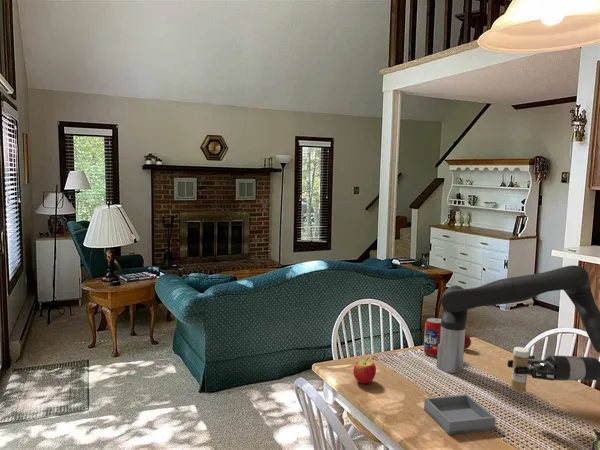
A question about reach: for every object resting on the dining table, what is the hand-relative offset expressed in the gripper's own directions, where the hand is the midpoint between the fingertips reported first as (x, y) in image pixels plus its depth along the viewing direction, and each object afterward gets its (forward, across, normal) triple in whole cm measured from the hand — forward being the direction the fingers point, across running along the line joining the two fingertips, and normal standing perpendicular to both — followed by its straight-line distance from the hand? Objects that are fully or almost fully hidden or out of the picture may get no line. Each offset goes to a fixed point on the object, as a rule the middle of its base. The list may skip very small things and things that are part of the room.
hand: (511, 366), depth 154 cm
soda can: (+9, -54, +18) cm, 58 cm away
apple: (+43, -25, +18) cm, 53 cm away
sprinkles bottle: (-3, 0, +8) cm, 8 cm away
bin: (+16, +1, +17) cm, 24 cm away
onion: (-6, -60, +18) cm, 63 cm away
